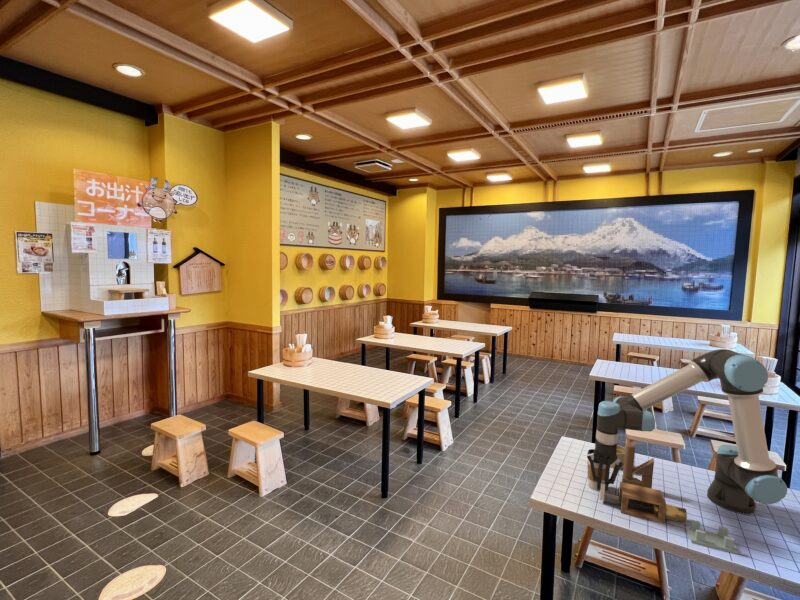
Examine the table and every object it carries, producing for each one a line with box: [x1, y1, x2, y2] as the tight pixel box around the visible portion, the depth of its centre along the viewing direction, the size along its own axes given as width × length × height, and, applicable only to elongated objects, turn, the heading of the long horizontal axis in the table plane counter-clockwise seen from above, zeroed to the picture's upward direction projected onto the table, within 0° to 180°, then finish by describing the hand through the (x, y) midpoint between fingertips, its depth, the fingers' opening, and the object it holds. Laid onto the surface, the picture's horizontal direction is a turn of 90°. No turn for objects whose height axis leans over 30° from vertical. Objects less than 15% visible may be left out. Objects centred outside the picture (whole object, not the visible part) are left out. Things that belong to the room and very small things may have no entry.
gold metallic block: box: [653, 503, 688, 524], centre depth 150 cm, size 10×5×5 cm, turn 64°
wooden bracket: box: [621, 443, 655, 489], centre depth 169 cm, size 4×11×18 cm, turn 60°
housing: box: [618, 481, 667, 524], centre depth 154 cm, size 14×9×8 cm
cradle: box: [685, 519, 740, 555], centre depth 138 cm, size 13×8×4 cm, turn 67°
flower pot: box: [610, 444, 625, 470], centre depth 188 cm, size 9×9×9 cm
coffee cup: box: [586, 448, 606, 492], centre depth 169 cm, size 8×8×15 cm
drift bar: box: [602, 492, 654, 514], centre depth 156 cm, size 17×3×3 cm, turn 65°
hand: (601, 497), depth 159 cm, fingers closed
